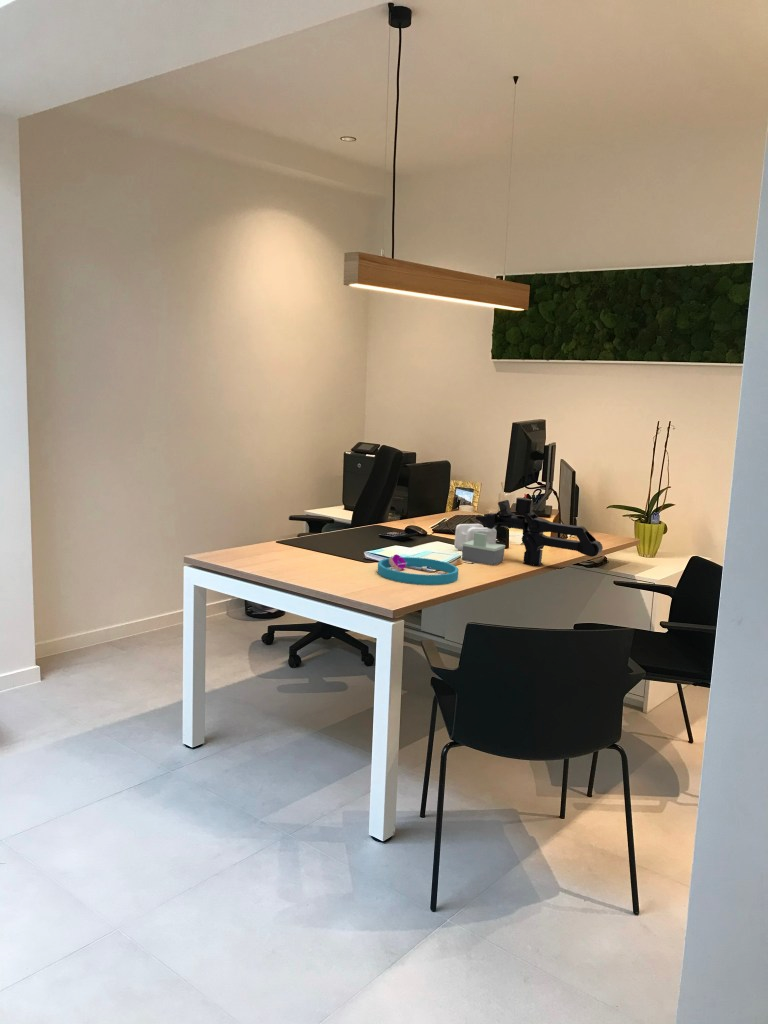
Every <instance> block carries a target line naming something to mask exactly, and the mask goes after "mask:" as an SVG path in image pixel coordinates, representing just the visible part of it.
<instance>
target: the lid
mask: <svg viewBox="0 0 768 1024" xmlns="http://www.w3.org/2000/svg"><path fill="white" fill-rule="evenodd" d="M462 546H467V547H473V548H478V549H484V550H490V551H497V550H500V549H503V548H504V549H505V548H506V545H505V544H502V543H501V544H500V543H496V544H495V543H489V542H487V534H481V533H474V540H472V541H469V542H465V543H463V545H462Z"/></svg>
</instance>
